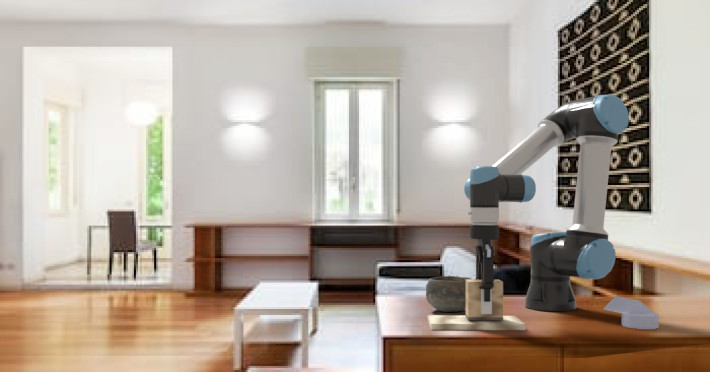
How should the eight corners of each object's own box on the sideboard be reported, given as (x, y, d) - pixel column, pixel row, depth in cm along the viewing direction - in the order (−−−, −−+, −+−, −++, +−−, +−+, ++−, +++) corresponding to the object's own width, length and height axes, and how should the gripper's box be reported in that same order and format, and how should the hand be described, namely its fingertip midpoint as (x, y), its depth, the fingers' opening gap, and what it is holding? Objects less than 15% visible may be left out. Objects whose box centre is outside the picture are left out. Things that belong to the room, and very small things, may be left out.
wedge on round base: (603, 321, 172) (640, 330, 160) (602, 296, 173) (640, 304, 161) (628, 319, 176) (666, 327, 164) (627, 295, 176) (666, 301, 164)
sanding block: (499, 316, 169) (499, 279, 169) (503, 320, 164) (503, 282, 164) (465, 316, 169) (465, 279, 169) (468, 320, 164) (468, 281, 164)
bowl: (484, 311, 188) (484, 277, 188) (453, 317, 177) (453, 282, 178) (446, 305, 198) (446, 273, 198) (415, 311, 187) (415, 278, 187)
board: (515, 321, 172) (515, 315, 172) (525, 330, 160) (525, 324, 160) (427, 320, 173) (427, 315, 173) (431, 329, 161) (431, 323, 161)
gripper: (465, 223, 176) (465, 306, 176) (475, 225, 158) (475, 318, 157) (491, 223, 176) (492, 306, 175) (505, 225, 158) (505, 318, 157)
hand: (484, 311), depth 166 cm, fingers closed on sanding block, 5 cm apart
